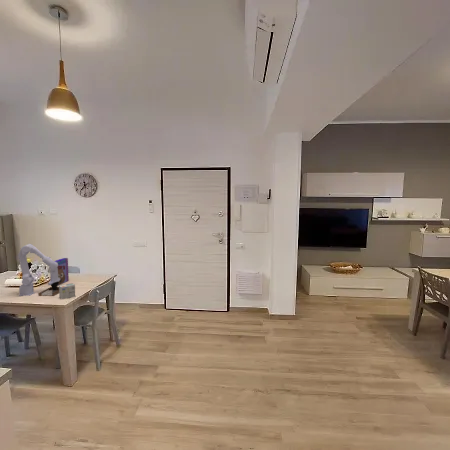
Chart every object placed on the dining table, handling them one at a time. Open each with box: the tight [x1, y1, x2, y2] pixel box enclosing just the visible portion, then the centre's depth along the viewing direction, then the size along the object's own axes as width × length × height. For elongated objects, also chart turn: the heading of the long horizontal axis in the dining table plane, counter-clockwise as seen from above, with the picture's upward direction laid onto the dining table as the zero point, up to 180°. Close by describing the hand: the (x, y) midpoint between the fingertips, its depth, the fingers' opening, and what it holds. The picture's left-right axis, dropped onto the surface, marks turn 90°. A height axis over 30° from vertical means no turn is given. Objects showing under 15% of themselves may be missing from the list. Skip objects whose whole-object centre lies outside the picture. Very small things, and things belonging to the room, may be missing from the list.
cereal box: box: [54, 257, 70, 287], centre depth 261 cm, size 17×5×24 cm, turn 178°
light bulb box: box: [58, 282, 76, 300], centre depth 224 cm, size 11×7×11 cm, turn 141°
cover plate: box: [41, 290, 58, 297], centre depth 230 cm, size 9×8×2 cm
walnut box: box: [38, 286, 59, 297], centre depth 233 cm, size 13×17×3 cm
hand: (54, 290), depth 237 cm, fingers closed
